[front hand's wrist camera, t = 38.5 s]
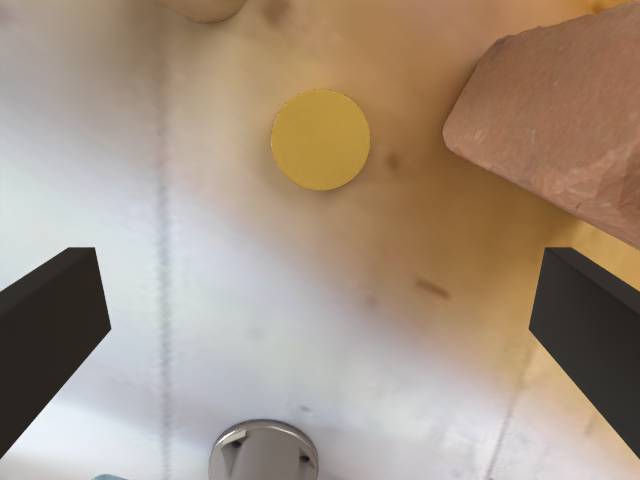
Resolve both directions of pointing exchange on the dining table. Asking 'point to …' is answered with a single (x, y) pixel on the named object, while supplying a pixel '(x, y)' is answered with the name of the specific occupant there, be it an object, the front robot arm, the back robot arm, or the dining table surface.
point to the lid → (320, 140)
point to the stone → (562, 117)
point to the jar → (203, 9)
